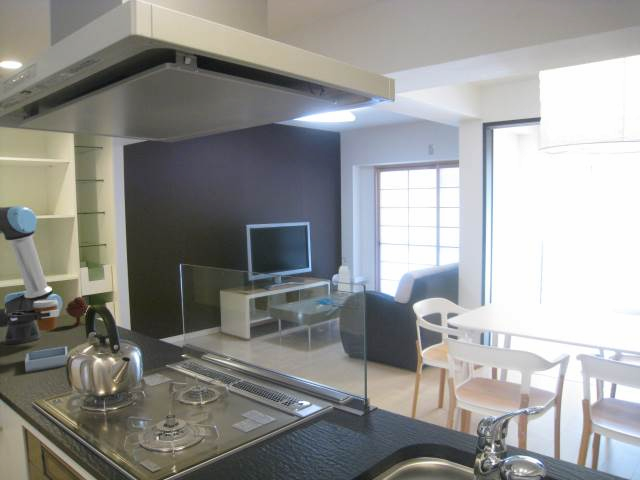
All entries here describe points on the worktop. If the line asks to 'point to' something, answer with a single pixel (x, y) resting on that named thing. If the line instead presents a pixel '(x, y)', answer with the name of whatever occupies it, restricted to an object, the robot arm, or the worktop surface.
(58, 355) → the tote
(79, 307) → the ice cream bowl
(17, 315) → the robot arm
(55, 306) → the disposable coffee cup
